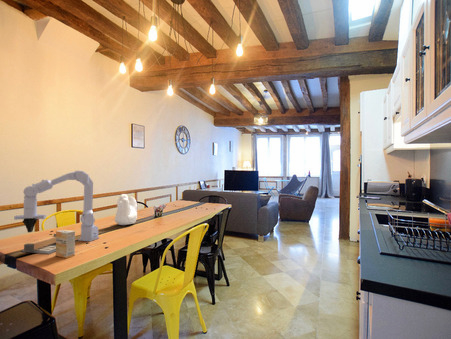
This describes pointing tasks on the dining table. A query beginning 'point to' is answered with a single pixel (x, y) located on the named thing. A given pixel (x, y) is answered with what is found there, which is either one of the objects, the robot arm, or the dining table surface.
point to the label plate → (44, 249)
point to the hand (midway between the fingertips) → (30, 231)
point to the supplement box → (65, 243)
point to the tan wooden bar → (39, 243)
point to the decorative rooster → (126, 210)
